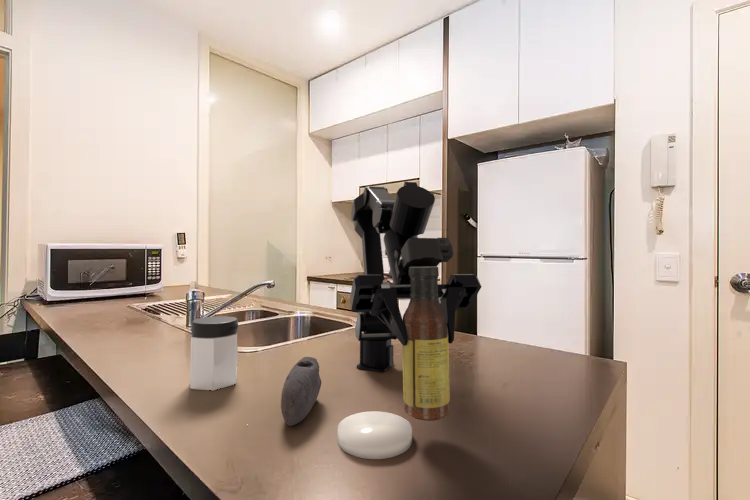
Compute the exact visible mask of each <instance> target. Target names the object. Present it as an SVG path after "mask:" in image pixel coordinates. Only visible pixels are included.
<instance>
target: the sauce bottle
mask: <svg viewBox="0 0 750 500" xmlns="http://www.w3.org/2000/svg"><path fill="white" fill-rule="evenodd" d="M439 276H440V272H439V267H438V265H437V266H413V267H409V277H410V285H411V286H410V289H411V293H410V299H409V303H408V305H407V308H406V309H405V311H404V313H403V315H402V320H403V323H404V326H405V330H406V334H407V340H408V342H407V345H406V346H403V345H402V344H401V346H402V387H403V388H402V391H403V393H402V394H403V403H404V411H405V413H406V414H407V415H408V416H410V417H412V418H414V419H415V420H420V421H424V422H427V421H428V422H431V421H432V422H434V421H440V420H441V419H444V418H446V417H447V416H448V415H449V408H450V407H449V404H450V400H451V393H450V391H451V390H450V359H449V357H450V356H449V355H450V353H449V351H450V350H449V347H450V346H449V342H448V328H447V325H446V322H445V318H444V316H443V313H442V309H441V306H440V302H439V299H438V286H437V284H438V282H439V281H438V278H439Z"/></svg>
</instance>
